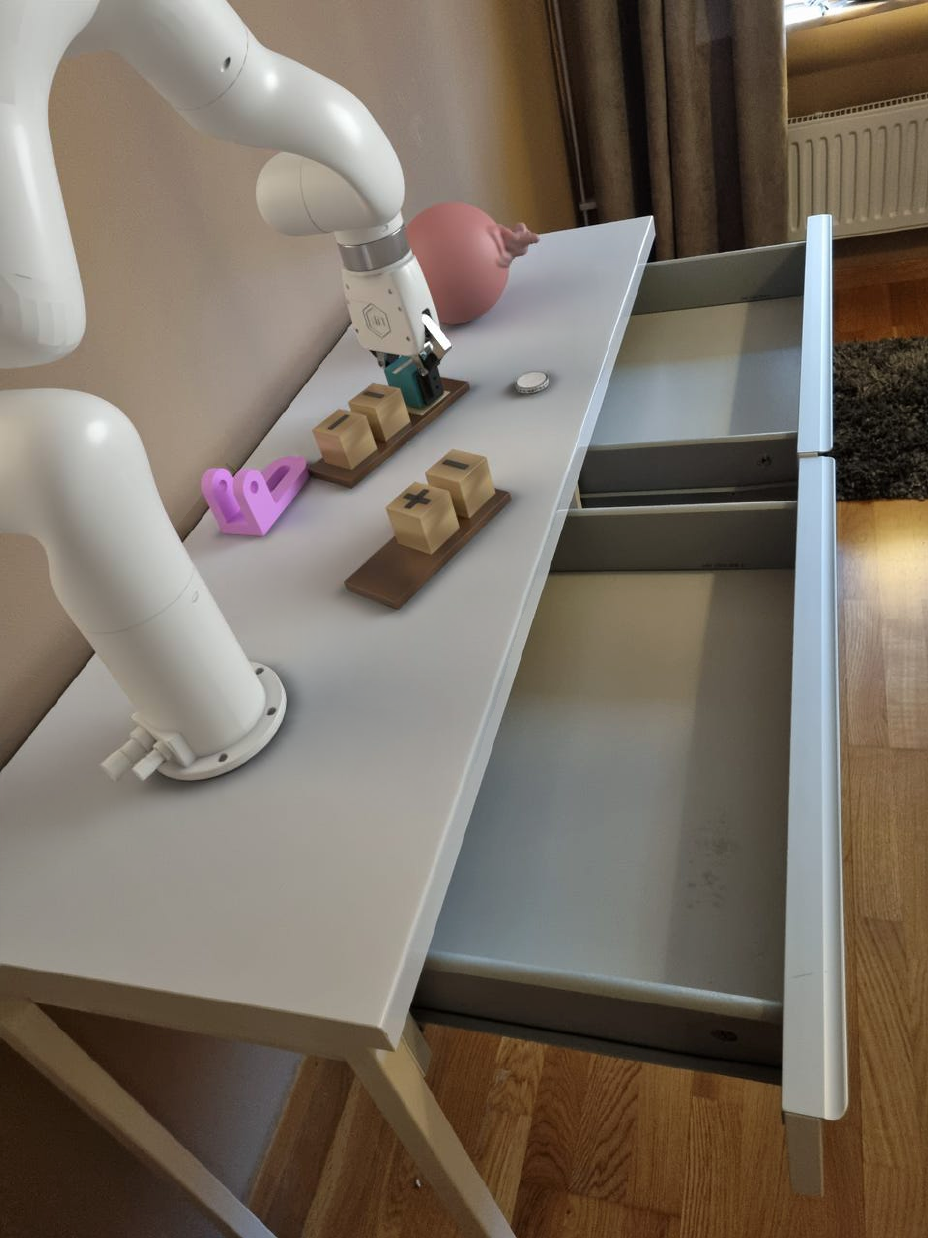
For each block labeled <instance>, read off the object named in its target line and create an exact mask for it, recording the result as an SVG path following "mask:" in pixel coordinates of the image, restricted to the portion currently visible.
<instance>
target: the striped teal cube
mask: <svg viewBox="0 0 928 1238" xmlns="http://www.w3.org/2000/svg"><path fill="white" fill-rule="evenodd" d="M424 353H425V350H424V351H423V352H421V355H422V357H423V359H424V360H425V359H426V357H427V354H426V353H425V354H424ZM383 373H384V376H385V380H386V382H387V386H392V387H397V388H400V389H401V392H402V396H403V399H404V402H405V405H408V406H413V407H418V408H421V407H422V406H424V405H425V404H424V402H423V398H422V395H421V391H420V388H419V385H418V381H417V377H416V376H417V375H419V372H418V370H417V368H416V366H415V364H414V361H413V359H412V357H408V356H401V355H400V357H399V358H398V359H397V360H395V361H394V362H393V363H391V364H390V365H389V366H388V367H386V368H385V369H383Z"/></svg>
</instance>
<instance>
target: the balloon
mask: <svg viewBox="0 0 928 1238" xmlns="http://www.w3.org/2000/svg"><path fill="white" fill-rule="evenodd" d="M405 228H406V232H407V236H408V240H409V243H410V247H411V251H412V254H413V255H415V257H416V259H417V261H418V263H419V265H420V268H421V270H422V272H423V275H424V277H425V280H426V282H427V285H428V288H429V291H430V293H431V296H432V300H433V303H434V306H435V309H436V313H437V317H438V321H439V323H441V324H445V325H446V324H447V325H460V324H466V323H469V322H472V321H474V320H477V319H479V318H480V317H482V316H484V315H485V314H486V313H488V312H489V311H490V310H491V309H492V308H493V307H494V306H495V305H496V303H498V302H499V300H500V298H501V296H502V295H503V293H504V290H505V289H506V287H507V283H508V280H509V274H510V267H511V265H512V263H513V261H514V260H515V259H516V258H518V257H523V256H525V255H526V254H527V253H528V251H529V246H530V245H533V244H538V243H539V242H540V241H541V240H540V239H541V237H540V235H539V234H538V233H535V232H531V230H529V229H528V228H527V225H526V224H525V223H524V222H517V223H516V224H514V225H513V226H512V227H510V228H508V227H506V226H504V225H503V224H502V223H501V224H500V223H496V221H495V220H494V219H493V218H492V217H491V216H490V215H489V214H487V213H486V212H485V211H483V210H482V209H481V208H479V207H477V206H475V205H472V204H469V203H467V202H461V201H444V202H439V203H436V204H433V205H431V206H428V207H427V208H425V209H423V210H422V211H421V212H419V213H418V214H417V215H415V217H413V218H412V219H411V220H410V222H409V223H408V224H407V226H405Z"/></svg>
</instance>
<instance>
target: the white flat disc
mask: <svg viewBox="0 0 928 1238" xmlns="http://www.w3.org/2000/svg"><path fill="white" fill-rule="evenodd" d="M549 383H550V380H549V376H548V374H547V373H546V372H543V371H531V372H527V373H524V374H522V375H520V376H519V377H518V378H517V379H516V380H515V382H514V385H515V388H516V390H517V391H518V392H519V393H520V394H521V393H522V394H533V393H537V392H540V391H542V390H544V389H545V388H547V386H549Z"/></svg>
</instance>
